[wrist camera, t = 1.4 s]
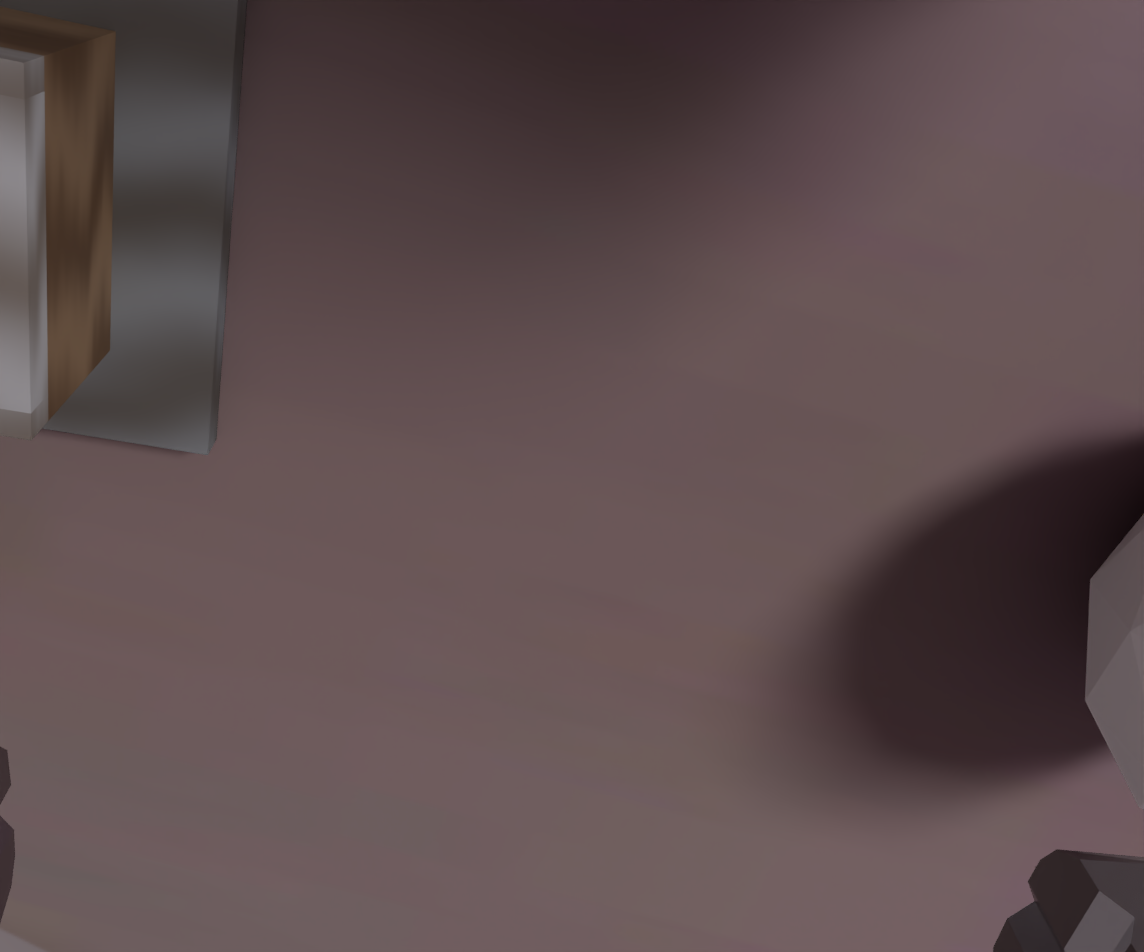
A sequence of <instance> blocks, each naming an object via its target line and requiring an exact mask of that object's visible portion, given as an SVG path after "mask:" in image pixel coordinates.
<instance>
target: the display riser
mask: <svg viewBox="0 0 1144 952" xmlns="http://www.w3.org/2000/svg"><path fill="white" fill-rule="evenodd" d="M246 7H247V0H0V436H6V437H12V438H18V439H25V440H32V439H33V438H34V437H35V436H36V435H37V433H38V432H39V431H40V430H41V429H49V430H55V431H61V432H67V433H73V434H80V435H86V436H92V437H98V438H104V439H111V440H117V441H123V442H129V443H135V444H142V445H148V446H154V447H160V448H166V449H173V450H179V451H185V452H191V453H197V454H204V455H208V454H209V452H210V450H211V448H212V446H213V444H214V443H215V441H216V436H217V422H218V407H219V393H220V379H221V365H222V350H223V336H224V322H225V307H226V293H227V279H228V264H229V250H230V236H231V221H232V207H233V193H234V179H235V164H236V150H237V136H238V121H239V107H240V93H241V78H242V64H243V50H244V36H245V21H246Z"/></svg>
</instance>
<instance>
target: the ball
mask: <svg viewBox="0 0 1144 952" xmlns="http://www.w3.org/2000/svg"><path fill="white" fill-rule="evenodd" d="M1085 702H1086V704H1087V706H1088V708H1089V710H1090V712H1091V714H1092V716H1093V718H1094V720H1095V722H1096V724H1097V726H1098V728H1099V729H1100V731H1101V733H1102V735H1103V737H1104V739H1105V741H1106V743H1107V745H1108V747H1109V749H1110V751H1111V753H1112V755H1113V757H1114V759H1115V761H1116V763H1117V765H1118V767H1119V769H1120V771H1121V773H1122V775H1123V777H1124V779H1125V781H1126V783H1127V785H1128V787H1129V789H1130V791H1131V793H1132V795H1133V797H1134V799H1135V801H1136V803H1137V805H1138V807H1140V808H1141V809H1143V810H1144V514H1143V515H1142V516H1141V518H1140V519H1139V520H1138V521H1137V522H1136V524H1135V525H1134V526H1133V527H1132V529H1131V530H1130V531H1129V532H1128V534H1127V535H1126V536H1125V537H1124V538H1123V540H1122V541H1121V542H1120V543H1119V545H1118V546H1117V547H1116V548H1115V550H1114V551H1113V552H1112V553H1111V554H1110V556H1109V557H1108V558H1107V559H1106V561H1105V562H1104V563H1103V564H1102V565H1101V567H1100V568H1099V569H1098V570H1097V572H1096V573H1095V574H1094V575H1093V577H1092V578H1091V579H1090V594H1089V617H1088V641H1087V664H1086V687H1085Z"/></svg>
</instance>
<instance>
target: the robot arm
mask: <svg viewBox="0 0 1144 952" xmlns="http://www.w3.org/2000/svg"><path fill="white" fill-rule="evenodd" d="M10 786H11V780H10V771H9V762H8V753H7V750H6V749H4V748H2V747H0V804H1V802H2V801H3V799H4V797H5V795H6V793H7V791H8V789H9V788H10ZM14 860H15V842H14V829H13V828H12V827H11V826H10V825H9V824H8V823H7V822H6V821H5V820H4V819H3V818H2V817H1V816H0V922H1V919H2V916H3V912H4V909H5V906H6V902H7V899H8V895H9V892H10V889H11V885H12V877H13V868H14ZM1028 883H1029V886H1030V889H1031V892H1032V895H1033V898H1034V902H1033V903H1031V904H1029V905H1028V906H1026V907H1025V908H1023V909H1022V910H1020V911H1018V912H1017V913H1015V914H1014V915H1012V916H1010V917H1009V918H1007V920H1006V922H1005V924H1004V926H1003V928H1002V930H1001V932H1000V934H999V937H998V939H997V941H996V943H995V945H994V947H993V952H1144V857H1137V856H1125V855H1114V854H1103V853H1092V852H1080V851H1069V850H1058V849H1057V850H1055V851H1053V852H1052V853H1050V854H1049V855H1047V856H1046V857H1044V858H1042V859H1041V860H1040V861H1039V863H1038V865H1037V867H1036V868H1035V870H1034V872H1033V873H1032V875H1031V877H1030V879H1029V880H1028Z"/></svg>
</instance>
